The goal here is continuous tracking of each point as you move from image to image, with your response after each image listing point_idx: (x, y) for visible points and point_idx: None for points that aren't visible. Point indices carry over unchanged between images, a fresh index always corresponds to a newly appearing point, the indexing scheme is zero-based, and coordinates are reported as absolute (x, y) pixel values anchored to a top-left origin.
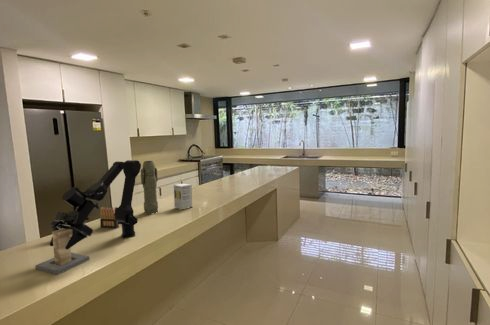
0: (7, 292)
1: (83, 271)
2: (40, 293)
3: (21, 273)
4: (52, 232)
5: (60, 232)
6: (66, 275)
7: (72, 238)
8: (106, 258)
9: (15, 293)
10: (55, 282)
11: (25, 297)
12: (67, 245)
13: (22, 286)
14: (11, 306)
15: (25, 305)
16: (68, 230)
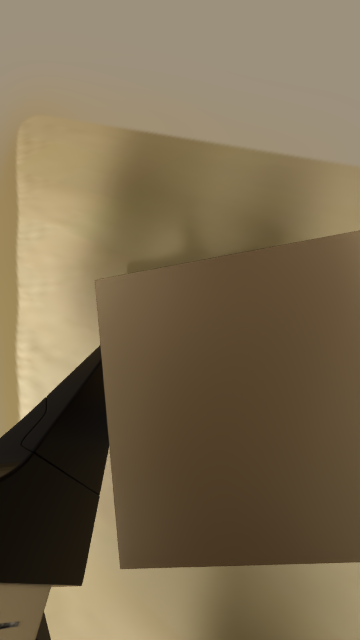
0: (153, 140)
1: (57, 360)
2: (45, 200)
3: (289, 210)
4: (339, 239)
5: (101, 322)
6: (88, 305)
7: (24, 418)
8: None
9: (121, 154)
10: (72, 257)
11: (64, 166)
12: (93, 354)
13: (152, 180)
14: (50, 130)
15: (19, 155)
16: (126, 536)
